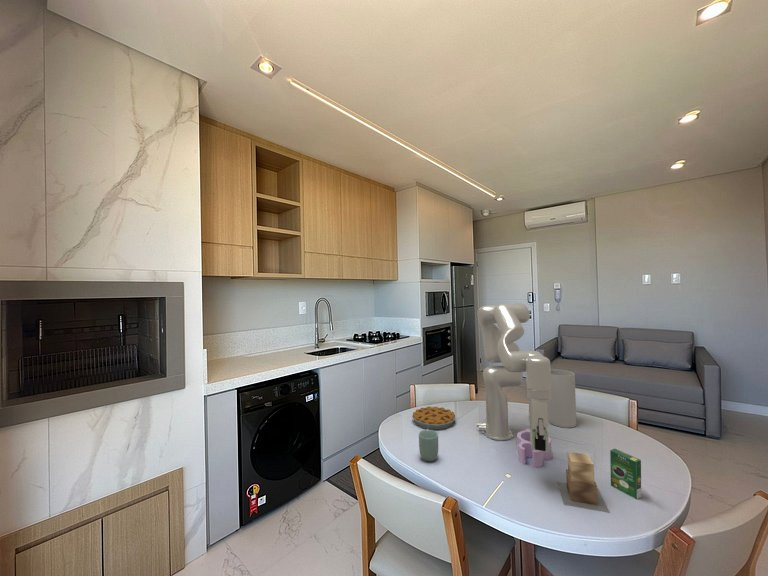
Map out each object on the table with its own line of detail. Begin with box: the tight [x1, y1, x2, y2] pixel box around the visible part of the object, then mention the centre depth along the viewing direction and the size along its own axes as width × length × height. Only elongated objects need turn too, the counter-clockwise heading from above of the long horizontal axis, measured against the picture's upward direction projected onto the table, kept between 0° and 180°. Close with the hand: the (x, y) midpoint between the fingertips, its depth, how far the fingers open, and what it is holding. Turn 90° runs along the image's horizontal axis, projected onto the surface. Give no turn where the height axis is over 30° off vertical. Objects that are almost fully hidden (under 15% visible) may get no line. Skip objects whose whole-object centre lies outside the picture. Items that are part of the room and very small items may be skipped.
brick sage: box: [529, 425, 549, 452], centre depth 107 cm, size 5×5×6 cm
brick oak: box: [566, 451, 596, 484], centre depth 99 cm, size 6×6×6 cm
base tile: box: [556, 481, 611, 514], centre depth 99 cm, size 12×12×1 cm
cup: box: [418, 429, 439, 462], centre depth 126 cm, size 8×8×10 cm
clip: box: [516, 428, 553, 468], centre depth 125 cm, size 20×12×7 cm, turn 146°
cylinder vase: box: [547, 369, 577, 429], centre depth 156 cm, size 12×12×25 cm
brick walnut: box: [565, 468, 598, 506], centre depth 99 cm, size 7×7×6 cm
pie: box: [411, 406, 456, 431], centre depth 162 cm, size 22×22×5 cm
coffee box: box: [609, 448, 642, 500], centre depth 101 cm, size 8×3×13 cm, turn 22°
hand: (539, 445), depth 107 cm, fingers closed on brick sage, 5 cm apart
